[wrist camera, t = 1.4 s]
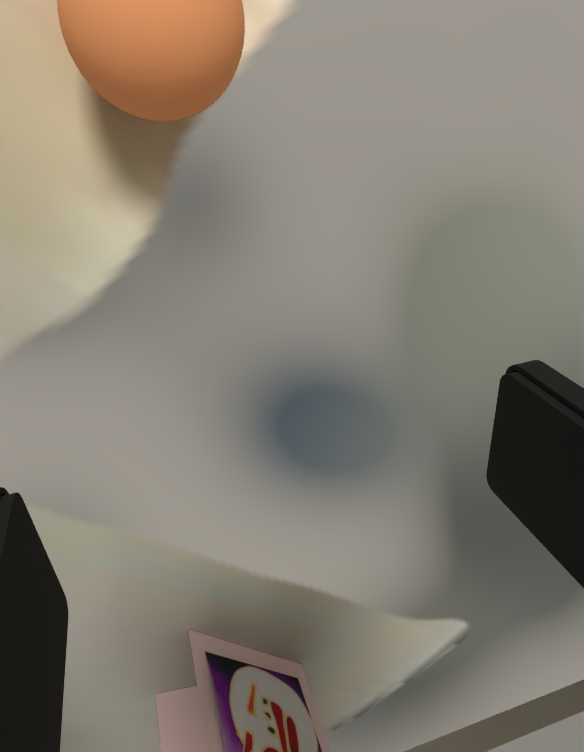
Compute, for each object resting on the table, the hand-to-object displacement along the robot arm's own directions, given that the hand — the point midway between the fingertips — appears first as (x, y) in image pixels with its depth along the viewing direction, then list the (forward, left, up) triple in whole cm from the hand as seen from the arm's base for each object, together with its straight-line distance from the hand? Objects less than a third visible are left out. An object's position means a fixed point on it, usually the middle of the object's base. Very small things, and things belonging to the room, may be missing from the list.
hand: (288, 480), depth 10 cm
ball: (+8, 0, -14) cm, 16 cm away
